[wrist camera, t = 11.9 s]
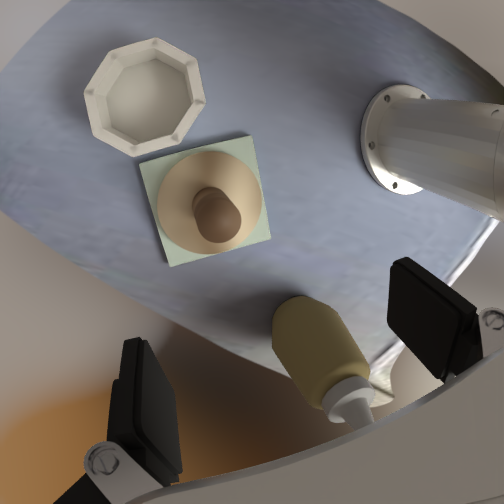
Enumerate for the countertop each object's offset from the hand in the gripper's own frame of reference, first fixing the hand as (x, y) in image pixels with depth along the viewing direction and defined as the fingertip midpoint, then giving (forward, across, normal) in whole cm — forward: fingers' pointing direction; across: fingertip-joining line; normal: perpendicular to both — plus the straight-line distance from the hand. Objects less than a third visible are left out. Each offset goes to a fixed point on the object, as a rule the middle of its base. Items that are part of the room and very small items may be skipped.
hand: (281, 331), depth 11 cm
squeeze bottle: (+20, -6, +16) cm, 26 cm away
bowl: (+19, +4, -10) cm, 22 cm away
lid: (+19, +1, 0) cm, 19 cm away
